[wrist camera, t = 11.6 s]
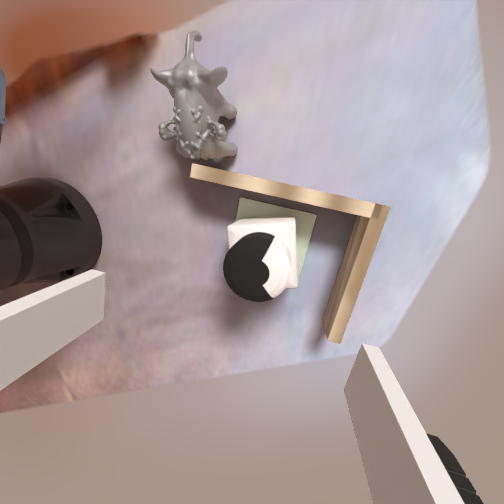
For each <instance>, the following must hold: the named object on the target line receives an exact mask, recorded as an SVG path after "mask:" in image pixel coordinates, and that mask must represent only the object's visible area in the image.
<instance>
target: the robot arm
mask: <svg viewBox="0 0 504 504" xmlns="http://www.w3.org/2000/svg"><path fill="white" fill-rule="evenodd" d="M5 98H6V79H5V76H4V73H3V71H2V69H1V68H0V142H1V135H2V128H3V124H4V125H6V124H7V119H6V117H5ZM100 249H101V230H100V225H99V222H98V219H97V216H96V214H95V212H94V210H93V208H92V207H91V205H90V204H89V202H88V201H87V200H86V199H85V198H84V196H83V195H82V194H81V193H80V192H78V191H77V190H76V189H75V188H73V187H72V186H70V185H68V184H66V183H64V182H62V181H59V180H55V179H43V178H30V179H24V180H20V181H17V182H14V183H10V184H7V185H4V186H0V290H2V289H5V288H8V287H11V286H14V285H17V284H20V283H36V282H53V281H62V282H59V283H57V284H54V285H52V286H50V287H47V288H45V289H42V290H40V291H37V292H35V293H32V294H30V295H27V296H25V297H22V298H20V299H17V300H15V301H12V302H10V303H7V304H5V305H3V306H0V390H2V389H3V388H5V387H6V386H8V385H9V384H11V383H12V382H13V381H15V380H16V379H18V378H19V377H21V376H22V375H24V374H25V373H26V372H28V371H29V370H31V369H32V368H34V367H35V366H37V365H38V364H39V363H41V362H42V361H44V360H45V359H47V358H48V357H49V356H51V355H52V354H54V353H55V352H57V351H58V350H60V349H61V348H62V347H64V346H65V345H67V344H68V343H70V342H71V341H73V340H74V339H75V338H77V337H78V336H80V335H81V334H83V333H84V332H86V331H87V330H88V329H90V328H91V327H93V326H94V325H96V324H97V323H99V322H100V321H101V320H103V319H104V298H105V276H106V273H104V272H100V271H97V270H93V269H92V270H89V269H90V268H91V267H92V266H93V265H94V264H95V262H96V260H97V259H98V256H99V253H100ZM88 270H89V271H88ZM63 280H64V281H63ZM344 392H345V395H346V400H347V404H348V408H349V412H350V415H351V419H352V423H353V427H354V431H355V435H356V438H357V442H358V446H359V450H360V454H361V457H362V462H363V465H364V469H365V473H366V477H367V480H368V485H369V488H370V492H371V496H372V500H373V504H483V502H482V500H481V499H480V497H479V496H477V495H476V490H475V489H474V487H473V486H472V484H471V482H470V481H469V479H468V478H466V474H465V472H464V471H463V469H462V467H461V466H460V464H459V463H458V461H457V459H456V458H455V456H454V455H453V454H452V452H451V451H450V450H449V449H448V448H447V447H446V446H445V445H444V443H443V442H442V441H441V440H440V439H439V438H438V437H436V436H433V435H430V434H426V433H425V431H424V429H423V427H422V425H421V423H420V422H419V420H418V418H417V416H416V414H415V413H414V411H413V409H412V407H411V405H410V403H409V402H408V400H407V398H406V396H405V394H404V393H403V391H402V389H401V387H400V386H399V383H398V382H397V380H396V378H395V376H394V374H393V372H392V371H391V369H390V367H389V365H388V363H387V362H386V360H385V358H384V356H383V354H382V352H381V351H380V349H379V348H378V347H374V346H370V345H367V344H363V343H362V345H361V348H360V350H359V353H358V355H357V358H356V361H355V363H354V365H353V368H352V370H351V373H350V375H349V378H348V380H347V383H346V385H345V388H344Z"/></svg>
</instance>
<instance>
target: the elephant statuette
mask: <svg viewBox="0 0 504 504" xmlns="http://www.w3.org/2000/svg"><path fill="white" fill-rule="evenodd" d="M201 39H202V36H201V34H200V32H199V31H190V32H188V34H187V39H186V44H185V56H184V58H183V59H182V60H181V61H180V62H179V63H178V64H177V65H176V66H175V67H174V68H173V69H169V70H164V71H161V72H156V71H155V70H154V69H152V68H151V69H150V71H151V73H152V75H153V76H154V78H155V79H156V80H157V81H159V82H160V83H162V84H163V85H165V86H166V87H167V88H168V89H169V92H170V94H171V96H172V97H173V98H174V108H173V111H174V112H175V116H174V118H173V120H171V121H167V122H164V123H160V124H159V134H160V137H161V138H162V139H163V140H169V139H172V138H174V137H177V138H176V140H177V145H176V151H177V152H178V153H180V154H181V155H182V156H183V157H185V158H191V159H195V160H197V161H198V160H199V159H200V158H202V159H203V160H204V161H207V160H208V159H209V158H210V159H215V158H218V157H222V156H230V157H232V156H234V155H236V153H237V146H236V145H235V144H234V143H231V142H230V143H225V142H224V141H225V140H226V138H227V132H226V130H225V127H224V125H223V124H220V123H218V119H219V117H220V116H222V117H224V118H226V119H232V118H234V117H235V116H236V114H237V109H236V107H235V106H233V105H232V104H229V103H228V102H227V101H226V99H225V98H224V97H223V96H222V95H221V93H220V92H219V90H218V89H217V87H218V86H219V85H220V84H221V83H222V82H223V81H224V80H225V79H226V77H227V69H226V68H225V67H218V68H215V69H213V70H211V71H209V70H208V69H206V68H205V67H203V66H202V65H201V64H200V63H199V62H198V61H197V60H196V58H195V56H194V40H195V41H200V40H201ZM170 124H176V127H174V130H176V133H173V132H171V131H170V130H169V129H168V128H167V127H168V126H169V125H170Z"/></svg>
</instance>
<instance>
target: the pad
mask: <svg viewBox="0 0 504 504" xmlns="http://www.w3.org/2000/svg"><path fill="white" fill-rule="evenodd" d="M291 215H293V216H295V221H296V249H297V278H298V279H299V276H300V272H301V269H302V265H303V262H304V258H305V255H306V251H307V248H308V244H309V241H310V237H311V234H312V230H313V227H314V223H315V220H316V216H317V215H316V214H312V213H308V212H303V211H299V210H294V209H290V208H286V207H281V206H277V205H273V204H268V203H264V202H260V201H255V200H251V199H247V198H242V197H240V200H239V205H238V210H237V215H236V220H235V222H236V221H238V220H240V219H242V218H257V217H274V216H291Z"/></svg>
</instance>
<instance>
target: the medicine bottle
mask: <svg viewBox="0 0 504 504" xmlns="http://www.w3.org/2000/svg"><path fill="white" fill-rule="evenodd" d="M227 234H228V244H229V251H228V252H227V254H226V256H225V259H224V265H223V271H224V276H225V279H226V281H227V283H228V285H229V287H230V288H231V289H232V290H233V291H234V292H235V293H236V294H237V295H239V296H240V297H242V298H244V299H246V300H250V301H255V302H263V301H268V300H271V299H273V298H275V297H277V296H278V295H279V294H281V293H282V292H283V291H284V289H294V288H296V287H297V286H298V278H297V249H296V221H295V216H293V215H291V216H274V217H257V218H242V219H240V220H238V221H236V222H234V223H233V224H231V225H229V226H228V227H227Z"/></svg>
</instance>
